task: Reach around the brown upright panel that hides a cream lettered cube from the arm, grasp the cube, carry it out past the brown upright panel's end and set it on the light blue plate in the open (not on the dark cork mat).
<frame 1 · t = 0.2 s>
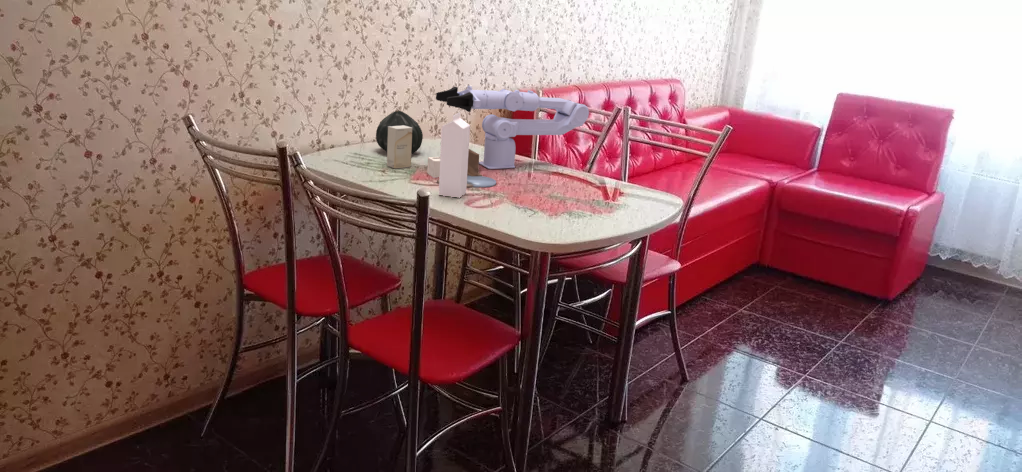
hand: (441, 98, 219), 21 cm above the table, tool horizontal, fingers open, 7 cm apart
cork mat: (456, 184, 211), on the table
letter cube: (438, 175, 220), on the table
squash: (399, 153, 243), on the table
light blue plate: (477, 182, 215), on the table
brown upright panel: (467, 172, 225), on the table
skincare box: (398, 167, 226), on the table
milk: (452, 195, 201), on the table
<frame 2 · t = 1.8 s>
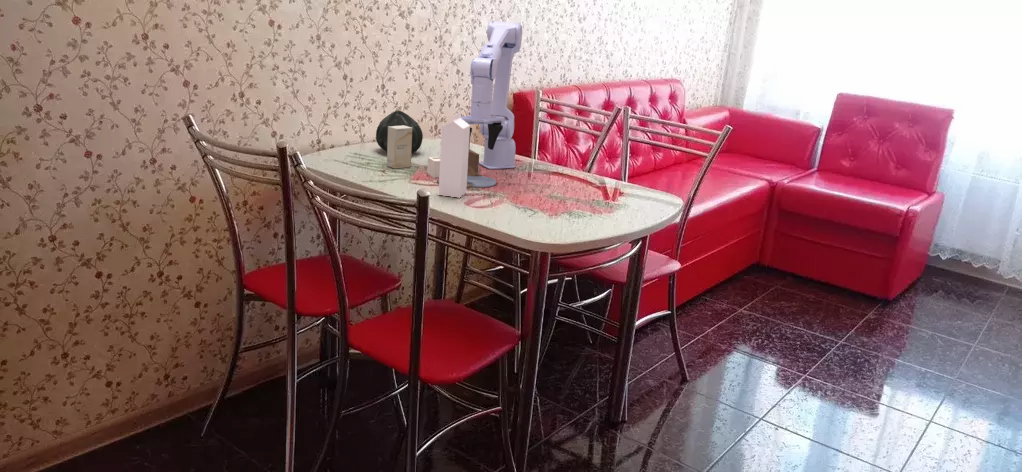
hand: (478, 149, 212), 10 cm above the table, tool pointing down, fingers open, 7 cm apart
nothing on the table moved.
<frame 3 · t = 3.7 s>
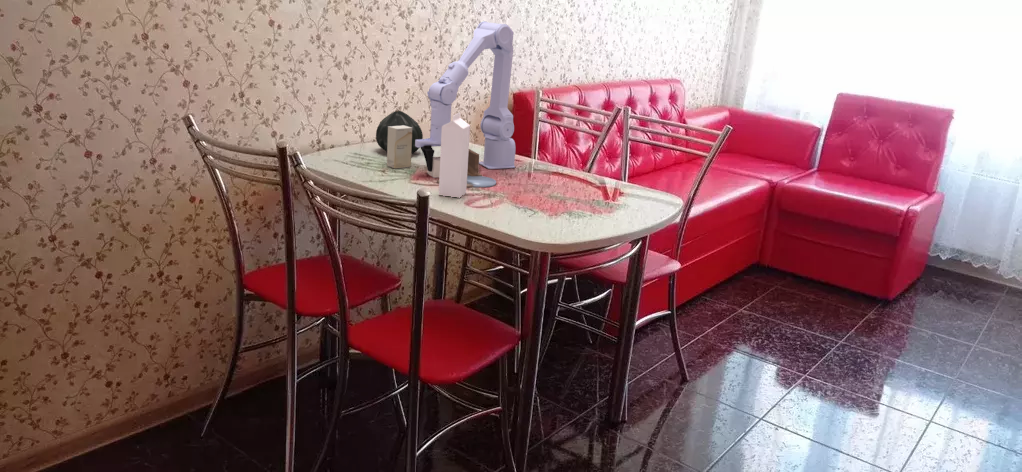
hand: (438, 170, 219), 1 cm above the table, tool pointing down, fingers closed on letter cube, 5 cm apart
letter cube: (438, 175, 220), on the table, touching gripper
everything else where it was.
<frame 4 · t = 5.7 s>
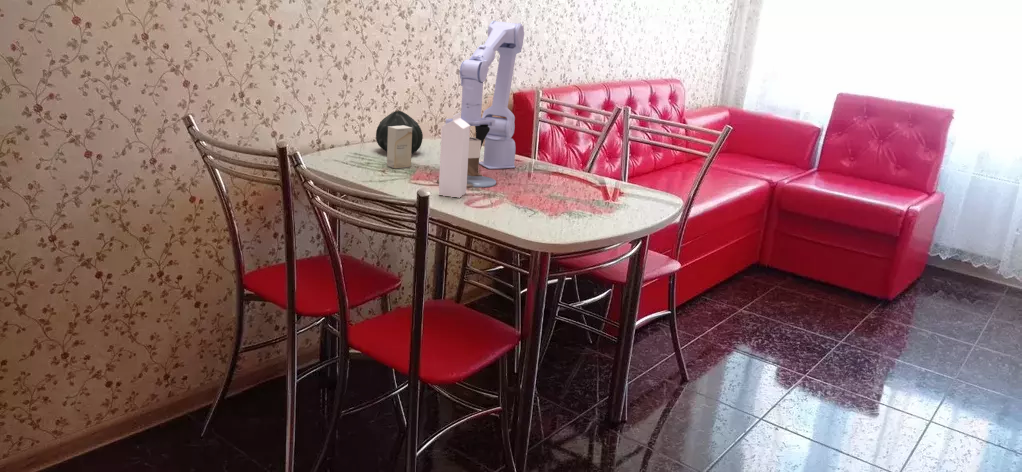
hand: (468, 150, 213), 9 cm above the table, tool pointing down, fingers closed on letter cube, 5 cm apart
letter cube: (468, 156, 214), point 7 cm above the table, touching gripper
everything else where it was.
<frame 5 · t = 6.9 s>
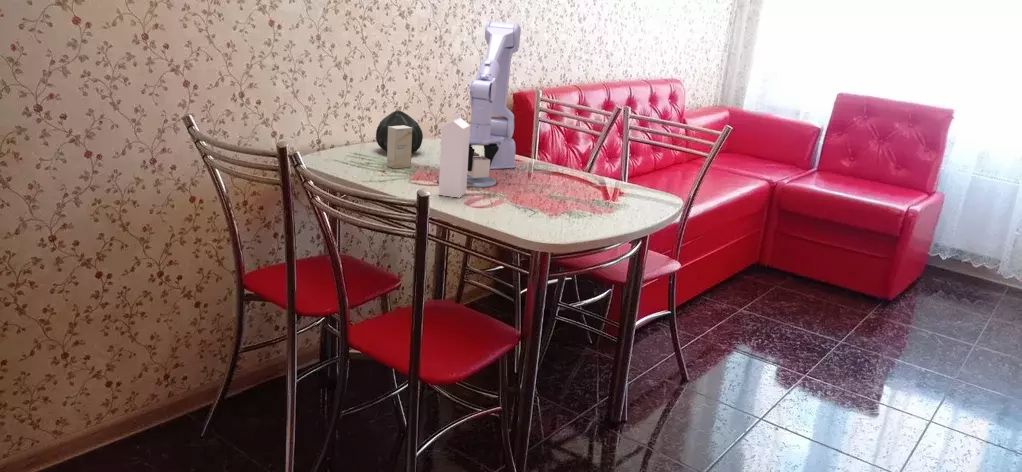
hand: (477, 170, 214), 4 cm above the table, tool pointing down, fingers closed on letter cube, 5 cm apart
letter cube: (477, 175, 214), point 2 cm above the table, touching gripper
everything else where it was.
when the fingers open (3 cm above the table, at t = 7.6 s): letter cube stays where it is, resting on light blue plate.
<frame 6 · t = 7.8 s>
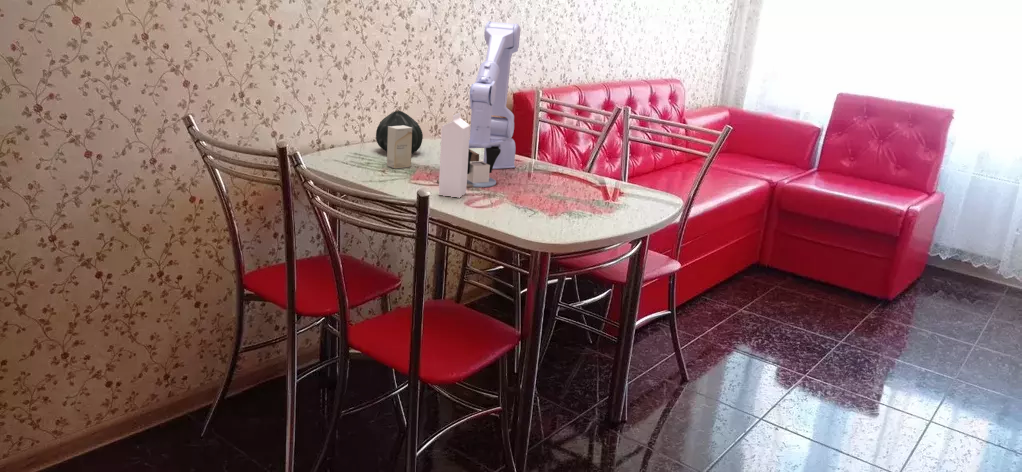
hand: (477, 172, 214), 3 cm above the table, tool pointing down, fingers open, 6 cm apart
letter cube: (477, 180, 215), point 1 cm above the table, touching light blue plate
everything else where it was.
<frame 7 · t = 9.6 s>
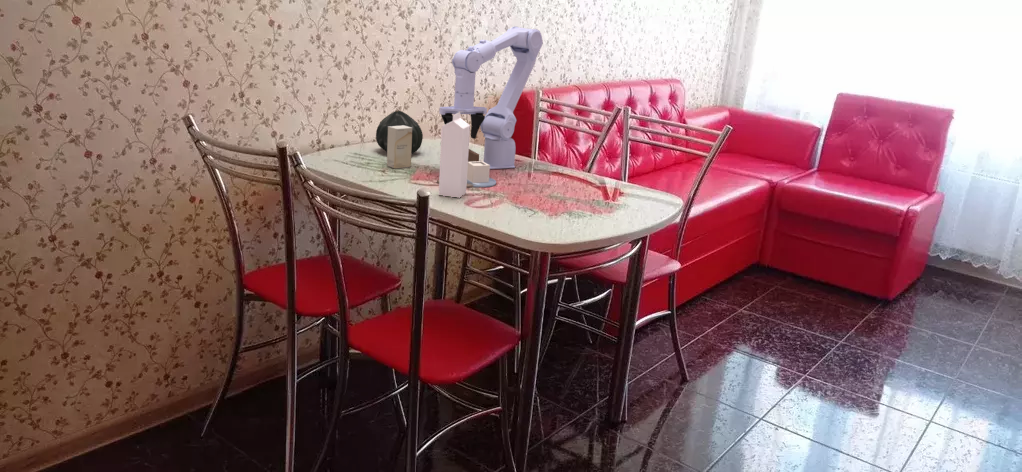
hand: (461, 138, 222), 10 cm above the table, tool pointing down, fingers open, 7 cm apart
nothing on the table moved.
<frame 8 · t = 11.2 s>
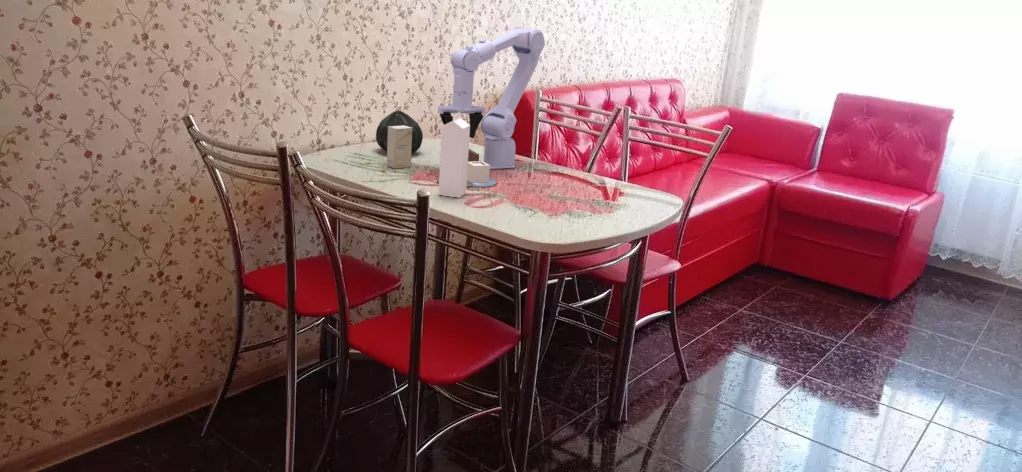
hand: (459, 137, 222), 10 cm above the table, tool pointing down, fingers open, 7 cm apart
nothing on the table moved.
at the end: letter cube inside the target area on the light blue plate (0.0 cm from its centre), point 0.6 cm above the light blue plate's base; letter cube tilted 0°; the gripper is holding nothing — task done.
